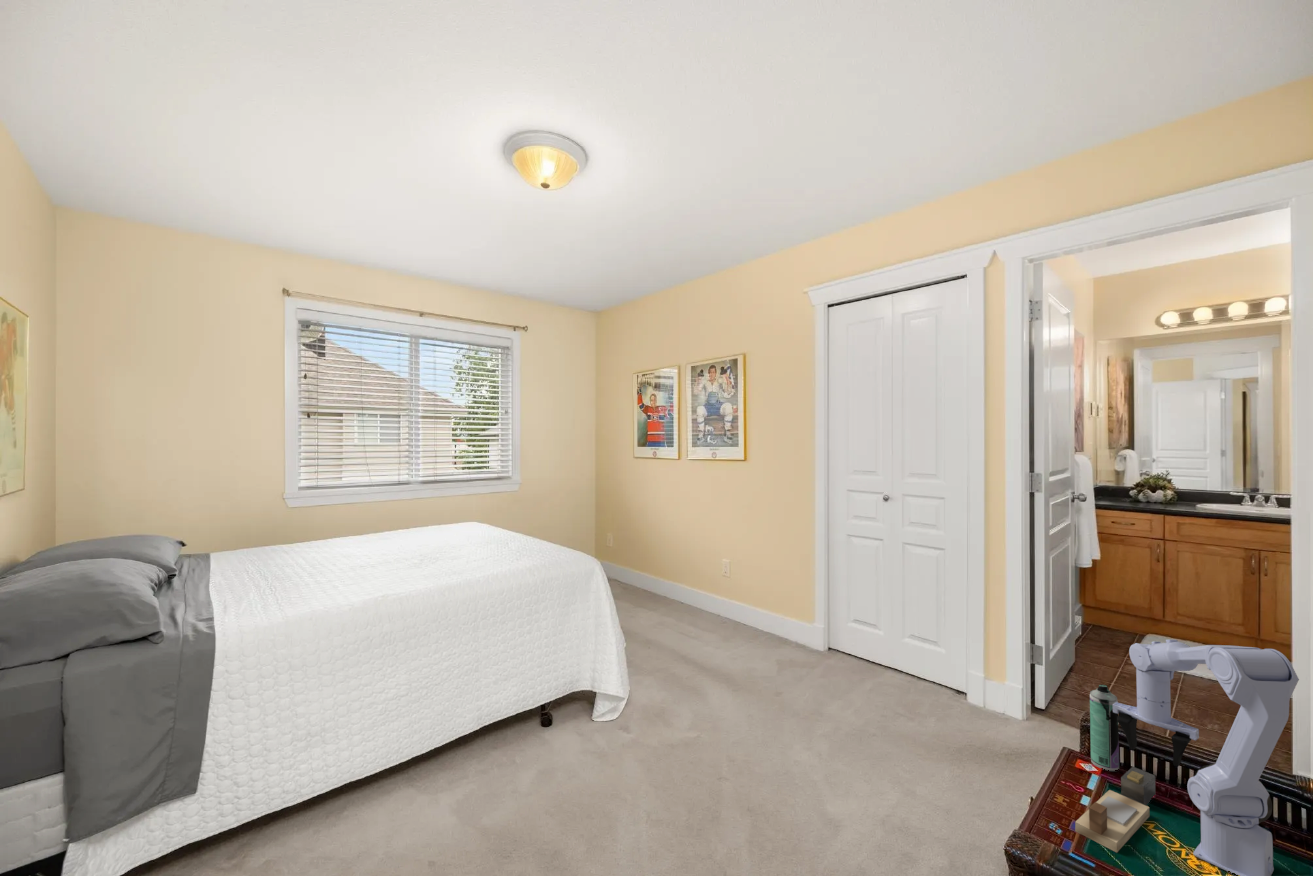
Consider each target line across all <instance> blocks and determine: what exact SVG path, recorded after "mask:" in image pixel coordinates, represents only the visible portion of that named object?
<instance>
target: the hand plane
mask: <svg viewBox="0 0 1313 876" xmlns="http://www.w3.org/2000/svg"><path fill="white" fill-rule="evenodd" d="M1149 818H1150V807H1149V806H1148V805H1147V806H1145V805H1143V804H1141V803H1139V802H1136V801H1134V800H1132V799H1130V798H1127V797H1125V796H1123V795H1121V793H1118V792H1115V791H1114V790H1111V789H1109V790H1107V791H1106V792H1105V793H1104V794H1103V795H1102V796H1101V797H1100V798H1099V799H1098V800H1097V801H1095V802H1094V803H1092V804H1091V805H1090V806H1089V807H1088V809H1087V810H1086V811H1085V812H1084V813H1083V814H1082V815H1081V816H1079V818H1078V819H1077V820H1075V823H1074V826H1075V827H1074V830H1075V832H1076V833H1078V834H1080V835H1082V836H1083V837H1086V838H1087V839H1089V840H1092V841H1094V842H1096V843H1097V844H1099V845H1102V846H1103V847H1104V848H1107V849H1109V850H1110V851H1113V852H1115V853H1119V851H1120V850H1121V849H1122V848H1123V847H1124V845H1125V844H1126V843H1127V842H1129V840H1130V839H1131V838H1132V837H1133V835H1134V834H1136V833H1137V831H1138V830H1139V829H1140V828H1141V826H1142V825H1143V824H1144V823H1145V822H1146V821H1147V820H1148V819H1149Z"/></svg>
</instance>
